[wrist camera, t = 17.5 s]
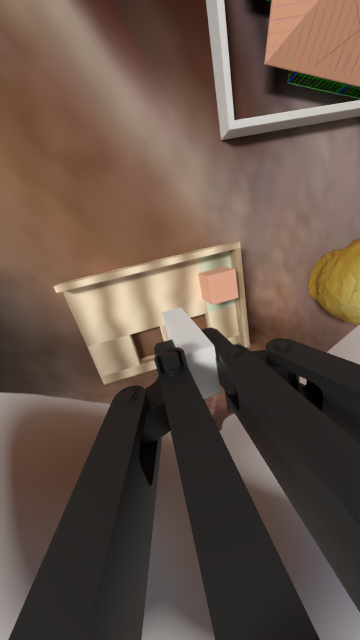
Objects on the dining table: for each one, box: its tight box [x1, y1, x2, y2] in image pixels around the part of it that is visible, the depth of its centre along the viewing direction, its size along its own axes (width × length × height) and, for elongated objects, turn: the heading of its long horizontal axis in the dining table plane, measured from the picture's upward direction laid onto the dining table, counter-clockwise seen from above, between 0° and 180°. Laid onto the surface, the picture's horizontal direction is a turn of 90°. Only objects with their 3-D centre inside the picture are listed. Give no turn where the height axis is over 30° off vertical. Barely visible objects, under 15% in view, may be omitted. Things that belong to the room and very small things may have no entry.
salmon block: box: [198, 267, 238, 305], centre depth 35 cm, size 5×5×5 cm
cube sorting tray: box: [54, 242, 250, 385], centre depth 38 cm, size 31×21×5 cm
